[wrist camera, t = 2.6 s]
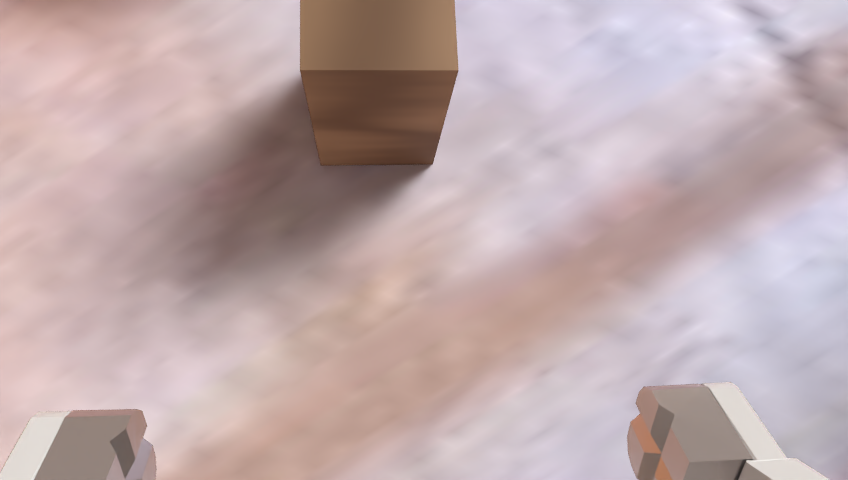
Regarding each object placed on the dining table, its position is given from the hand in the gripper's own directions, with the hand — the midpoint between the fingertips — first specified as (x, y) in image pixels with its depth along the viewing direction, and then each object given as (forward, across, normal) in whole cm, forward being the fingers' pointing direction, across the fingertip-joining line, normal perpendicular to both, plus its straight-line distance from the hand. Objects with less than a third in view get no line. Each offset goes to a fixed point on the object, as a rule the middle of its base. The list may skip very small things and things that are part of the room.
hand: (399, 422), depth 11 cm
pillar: (+18, 0, +2) cm, 18 cm away
